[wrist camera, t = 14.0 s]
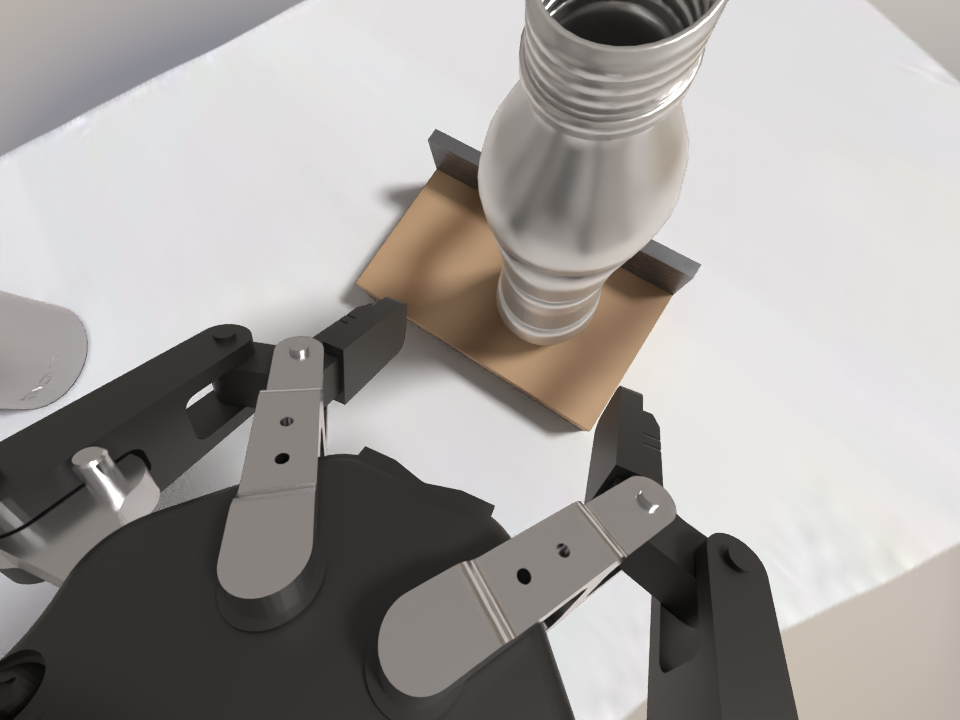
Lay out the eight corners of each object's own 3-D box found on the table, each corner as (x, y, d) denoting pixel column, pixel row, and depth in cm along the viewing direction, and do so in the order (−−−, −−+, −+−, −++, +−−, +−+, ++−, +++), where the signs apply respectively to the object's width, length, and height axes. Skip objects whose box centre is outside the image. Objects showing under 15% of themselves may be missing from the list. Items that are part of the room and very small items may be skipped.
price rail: (436, 169, 29) (427, 139, 26) (448, 153, 29) (440, 122, 26) (672, 295, 25) (693, 277, 22) (684, 276, 26) (706, 256, 23)
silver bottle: (604, 278, 26) (884, -159, 6) (570, 367, 25) (765, 185, 6) (519, 248, 27) (529, -213, 7) (483, 333, 26) (386, 76, 6)
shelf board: (368, 294, 30) (355, 282, 28) (449, 179, 31) (443, 159, 29) (583, 430, 27) (589, 431, 24) (665, 295, 28) (679, 283, 25)
